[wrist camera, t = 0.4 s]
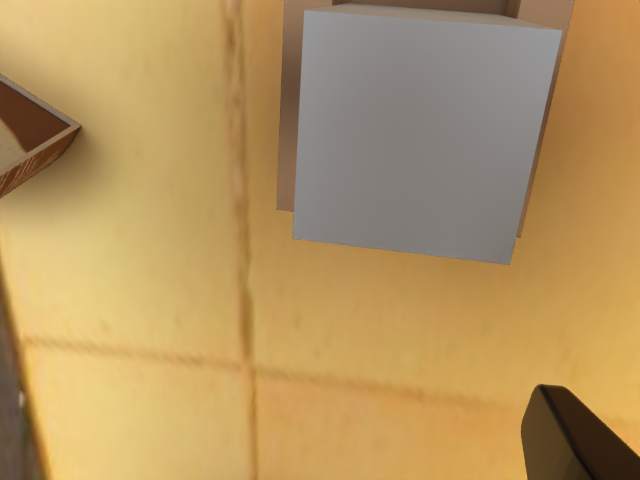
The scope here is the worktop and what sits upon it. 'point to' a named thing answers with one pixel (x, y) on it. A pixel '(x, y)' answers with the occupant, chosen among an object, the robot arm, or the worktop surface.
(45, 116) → the food container
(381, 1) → the tan cradle
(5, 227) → the worktop surface
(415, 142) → the block
